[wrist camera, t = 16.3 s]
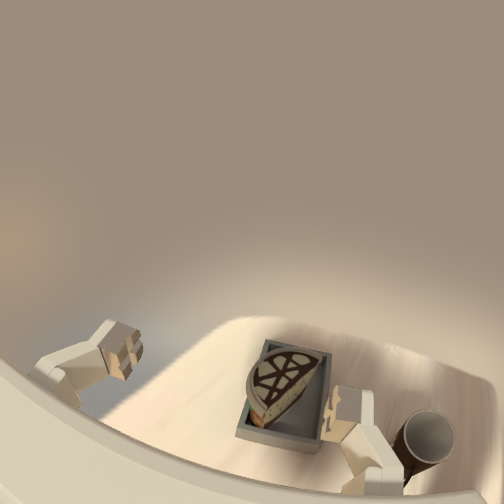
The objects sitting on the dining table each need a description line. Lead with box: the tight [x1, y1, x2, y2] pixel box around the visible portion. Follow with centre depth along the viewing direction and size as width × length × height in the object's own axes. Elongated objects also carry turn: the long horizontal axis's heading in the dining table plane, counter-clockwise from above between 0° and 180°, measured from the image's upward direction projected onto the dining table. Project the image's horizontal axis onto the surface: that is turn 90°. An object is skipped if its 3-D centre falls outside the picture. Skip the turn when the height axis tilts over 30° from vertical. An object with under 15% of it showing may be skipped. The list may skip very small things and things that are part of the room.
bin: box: [235, 339, 332, 454], centre depth 43 cm, size 12×18×4 cm, turn 165°
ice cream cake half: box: [246, 347, 322, 430], centre depth 39 cm, size 12×6×10 cm, turn 136°
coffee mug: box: [389, 409, 456, 488], centre depth 30 cm, size 12×9×10 cm
